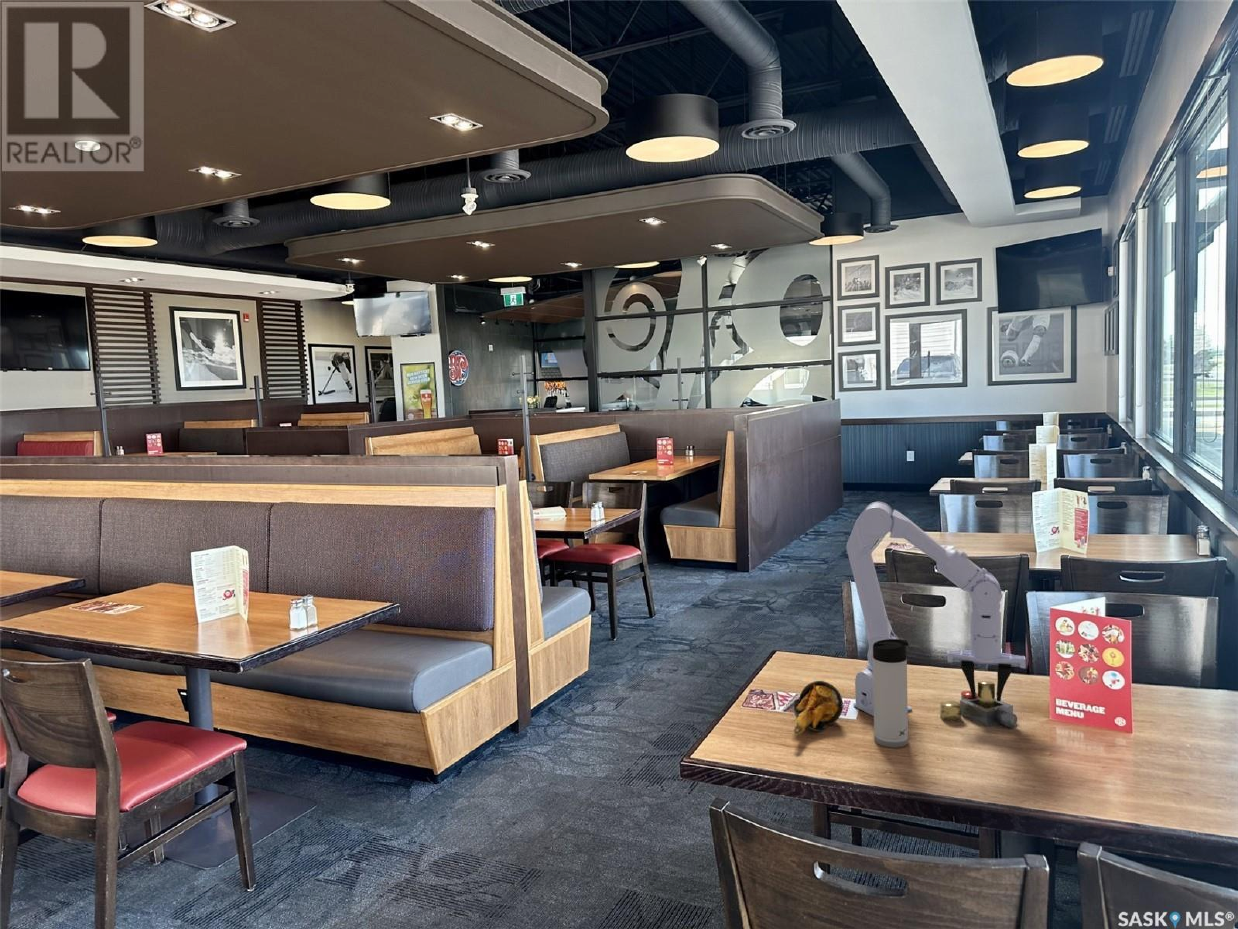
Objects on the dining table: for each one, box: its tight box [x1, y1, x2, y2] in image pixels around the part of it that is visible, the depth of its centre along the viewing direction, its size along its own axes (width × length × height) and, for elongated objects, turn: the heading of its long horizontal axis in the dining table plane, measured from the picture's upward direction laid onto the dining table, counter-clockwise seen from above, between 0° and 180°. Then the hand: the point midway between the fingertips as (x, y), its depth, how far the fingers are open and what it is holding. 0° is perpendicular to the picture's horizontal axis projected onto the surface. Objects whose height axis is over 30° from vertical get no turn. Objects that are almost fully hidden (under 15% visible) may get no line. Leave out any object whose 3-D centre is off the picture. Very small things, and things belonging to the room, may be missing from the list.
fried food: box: [792, 680, 844, 736], centre depth 164 cm, size 9×11×18 cm
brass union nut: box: [939, 700, 962, 723], centre depth 167 cm, size 4×4×3 cm
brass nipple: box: [977, 680, 996, 709], centre depth 166 cm, size 3×3×6 cm
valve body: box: [959, 690, 1018, 729], centre depth 166 cm, size 7×13×4 cm, turn 21°
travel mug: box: [873, 638, 909, 749], centre depth 156 cm, size 6×7×20 cm
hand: (986, 698), depth 166 cm, fingers open, 4 cm apart
